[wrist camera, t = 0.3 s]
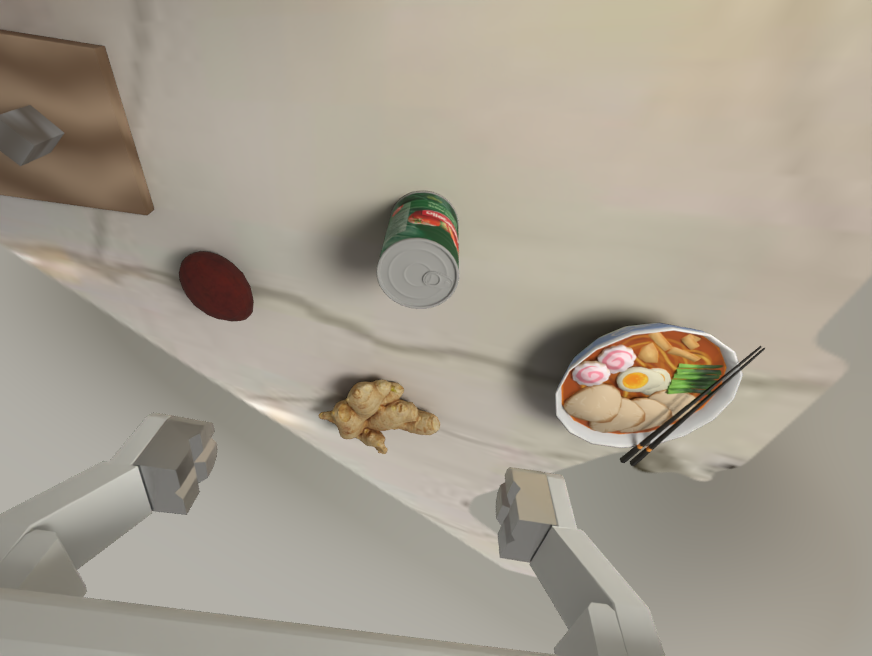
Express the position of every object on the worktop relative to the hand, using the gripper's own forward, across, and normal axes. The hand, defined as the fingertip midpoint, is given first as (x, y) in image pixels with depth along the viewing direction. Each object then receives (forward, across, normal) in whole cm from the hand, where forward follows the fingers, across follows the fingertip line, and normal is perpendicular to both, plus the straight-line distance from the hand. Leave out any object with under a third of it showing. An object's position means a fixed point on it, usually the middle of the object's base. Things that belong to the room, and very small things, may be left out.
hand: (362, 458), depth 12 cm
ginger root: (+44, +2, +40) cm, 59 cm away
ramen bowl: (+42, -32, +22) cm, 58 cm away
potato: (+41, +23, +20) cm, 51 cm away
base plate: (+39, +38, +5) cm, 55 cm away
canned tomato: (+40, -1, +8) cm, 41 cm away
